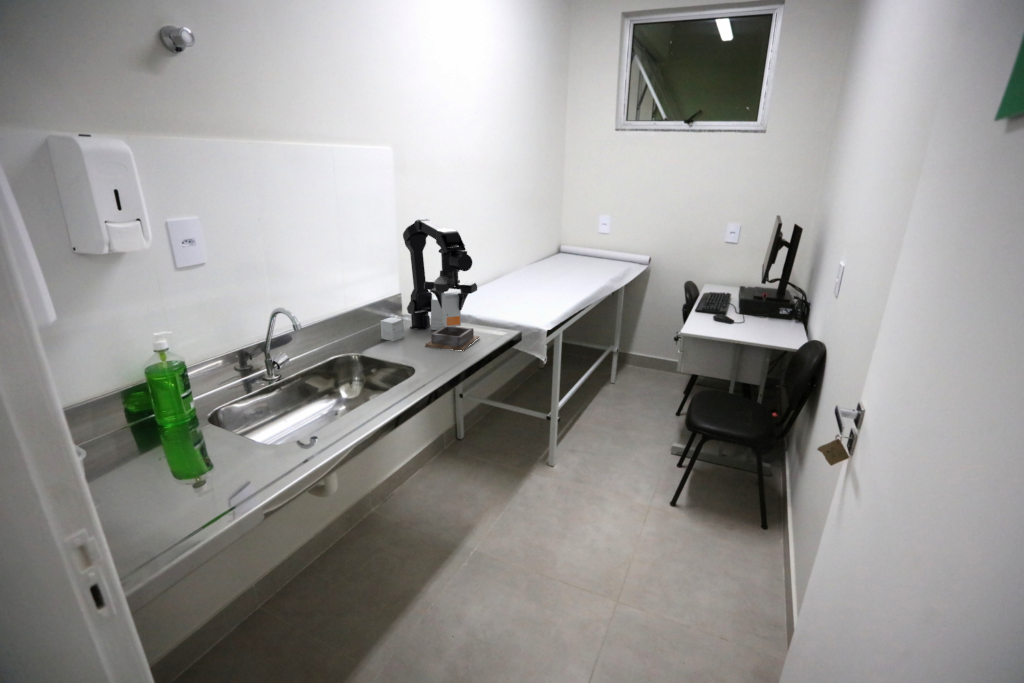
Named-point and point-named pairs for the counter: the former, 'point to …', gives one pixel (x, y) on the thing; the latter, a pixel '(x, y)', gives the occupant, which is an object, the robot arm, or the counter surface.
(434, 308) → the supplement box
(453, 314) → the skincare box
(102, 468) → the counter surface
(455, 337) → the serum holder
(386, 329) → the skincare box
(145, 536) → the counter surface
